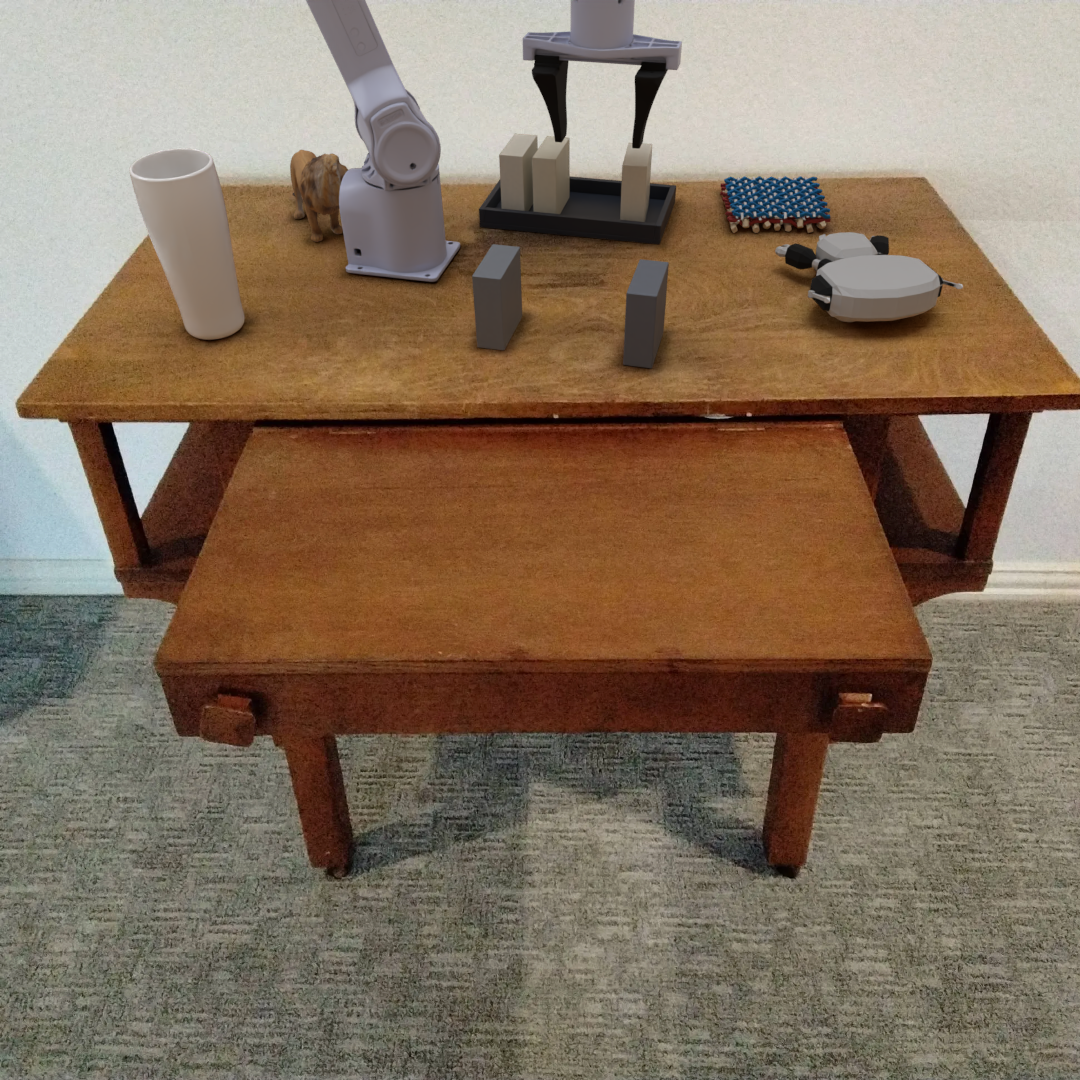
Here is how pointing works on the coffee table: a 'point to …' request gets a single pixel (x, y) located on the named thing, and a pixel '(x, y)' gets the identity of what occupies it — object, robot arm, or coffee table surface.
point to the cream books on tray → (535, 174)
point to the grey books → (503, 304)
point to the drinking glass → (191, 237)
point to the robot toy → (865, 278)
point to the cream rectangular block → (636, 183)
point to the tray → (587, 213)
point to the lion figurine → (317, 188)
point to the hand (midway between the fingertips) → (598, 141)
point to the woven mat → (774, 203)
